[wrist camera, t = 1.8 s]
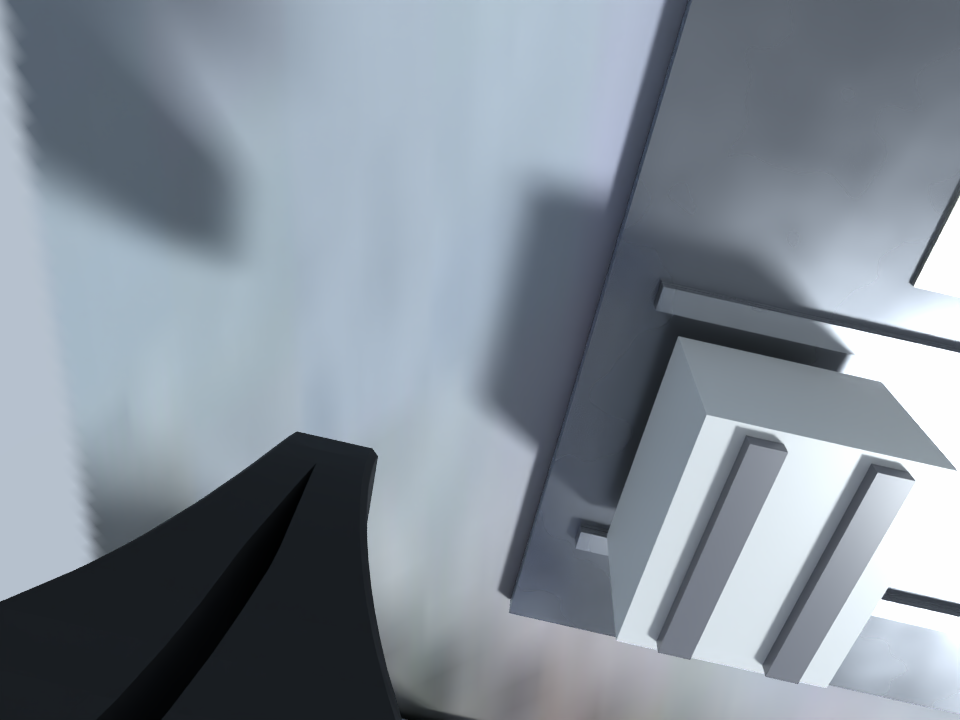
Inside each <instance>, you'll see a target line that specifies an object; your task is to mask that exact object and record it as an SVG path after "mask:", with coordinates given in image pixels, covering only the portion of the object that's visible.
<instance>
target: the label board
mask: <svg viewBox="0 0 960 720" xmlns="http://www.w3.org/2000/svg"><path fill="white" fill-rule="evenodd" d="M678 336H680V337H684V338H689V339H693V340H698V341H702V342H706V343H711V344H715V345H720V346H724V347H729V348H733V349H738V350H742V351H746V352H751V353H755V354H760V355H764V356H769V357H773V358H778V359H782V360H786V361H791V362H795V363H800V364H804V365H809V366H813V367H818V368H822V369H826V370H831V371H835V372H840V373H844V374H849V375H853V376H858V377H862V378H867V379H871V380H875V381H880V382H882V383H883V384H884V385H885V386H886V388H887V389H888V390H889V391H890V392H891V393H892V394H893V396H894V397H895V398H896V399H897V400H898V401H899V403H900V404H901V405H902V406H903V407H904V408H905V410H906V411H907V412H908V413H909V414H910V415H911V416H912V418H913V419H914V420H915V421H916V422H917V423H918V425H919V426H920V427H921V428H922V429H923V430H924V432H925V433H926V434H927V435H928V436H929V437H930V438H931V440H932V441H933V442H934V443H935V444H936V445H937V447H938V448H939V449H940V450H941V451H942V452H943V453H944V455H945V456H946V457H947V458H948V459H949V460H950V462H951V463H952V464H953V465H954V466H955V467H956V469H957V470H958V471H959V473H958V474H957V476H956V477H955V479H954V481H953V482H952V484H951V486H950V487H949V489H948V491H947V492H946V494H945V495H944V497H943V499H942V500H941V502H940V504H939V505H938V507H937V508H936V510H935V512H934V513H933V515H932V517H931V518H930V520H929V522H928V523H927V525H926V526H925V528H924V530H923V531H922V533H921V535H920V536H919V538H918V540H917V541H916V543H915V544H914V546H913V548H912V549H911V551H910V553H909V554H908V556H907V558H906V559H905V561H904V562H903V564H902V566H901V567H900V569H899V571H898V572H897V574H896V575H895V577H894V579H893V580H892V582H891V584H890V585H889V587H888V589H887V590H886V592H885V593H884V595H883V597H882V598H881V600H880V602H879V603H878V605H877V607H876V608H875V610H874V611H873V613H872V615H871V616H870V618H869V620H868V621H867V623H866V624H865V626H864V628H863V629H862V631H861V633H860V634H859V636H858V638H857V639H856V641H855V642H854V644H853V646H852V647H851V649H850V651H849V652H848V654H847V656H846V657H845V659H844V660H843V662H842V664H841V665H840V667H839V669H838V670H837V672H836V673H835V675H834V677H833V678H832V680H831V682H830V683H829V685H831V686H835V687H840V688H844V689H849V690H853V691H858V692H862V693H866V694H871V695H875V696H880V697H884V698H889V699H893V700H898V701H902V702H906V703H911V704H915V705H920V706H924V707H929V708H933V709H937V710H942V711H946V712H951V713H955V714H960V0H688V3H687V6H686V10H685V13H684V17H683V20H682V23H681V27H680V30H679V33H678V37H677V40H676V44H675V47H674V50H673V54H672V57H671V60H670V64H669V67H668V71H667V74H666V77H665V81H664V84H663V87H662V91H661V94H660V97H659V101H658V104H657V108H656V111H655V114H654V118H653V121H652V124H651V128H650V131H649V135H648V138H647V141H646V145H645V148H644V151H643V155H642V158H641V162H640V165H639V168H638V172H637V175H636V178H635V182H634V185H633V189H632V192H631V195H630V199H629V202H628V205H627V209H626V212H625V216H624V219H623V222H622V226H621V229H620V232H619V236H618V239H617V243H616V246H615V249H614V253H613V256H612V259H611V263H610V266H609V270H608V273H607V276H606V280H605V283H604V286H603V290H602V293H601V297H600V300H599V303H598V307H597V310H596V313H595V317H594V320H593V324H592V327H591V330H590V334H589V337H588V340H587V344H586V347H585V350H584V354H583V357H582V361H581V364H580V367H579V371H578V374H577V377H576V381H575V384H574V388H573V391H572V394H571V398H570V401H569V404H568V408H567V411H566V415H565V418H564V421H563V425H562V428H561V431H560V435H559V438H558V442H557V445H556V448H555V452H554V455H553V458H552V462H551V465H550V469H549V472H548V475H547V479H546V482H545V485H544V489H543V492H542V496H541V499H540V502H539V506H538V509H537V512H536V516H535V519H534V523H533V526H532V529H531V533H530V536H529V539H528V543H527V546H526V550H525V553H524V556H523V560H522V563H521V566H520V570H519V573H518V576H517V580H516V583H515V587H514V590H513V593H512V597H511V600H510V609H509V613H512V614H516V615H520V616H525V617H529V618H534V619H538V620H543V621H547V622H551V623H556V624H560V625H565V626H569V627H574V628H578V629H583V630H587V631H591V632H596V633H600V634H605V635H609V636H614V637H616V633H615V622H614V611H613V600H612V588H611V577H610V566H609V555H608V544H607V533H608V531H609V528H610V525H611V522H612V519H613V517H614V514H615V511H616V508H617V505H618V503H619V500H620V497H621V494H622V491H623V489H624V486H625V483H626V480H627V478H628V475H629V472H630V469H631V466H632V464H633V461H634V458H635V455H636V452H637V450H638V447H639V444H640V441H641V439H642V436H643V433H644V430H645V427H646V425H647V422H648V419H649V416H650V413H651V411H652V408H653V405H654V402H655V399H656V397H657V394H658V391H659V388H660V386H661V383H662V380H663V377H664V374H665V372H666V369H667V366H668V363H669V360H670V358H671V355H672V352H673V349H674V347H675V344H676V341H677V338H678Z"/></svg>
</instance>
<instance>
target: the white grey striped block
mask: <svg viewBox="0 0 960 720" xmlns="http://www.w3.org/2000/svg"><path fill="white" fill-rule="evenodd" d="M958 473H959V471H958V470H957V469H956V467H955V466H954V465H953V464H952V463H951V462H950V460H949V459H948V458H947V457H946V456H945V455H944V453H943V452H942V451H941V450H940V449H939V448H938V447H937V445H936V444H935V443H934V442H933V441H932V440H931V438H930V437H929V436H928V435H927V434H926V433H925V432H924V430H923V429H922V428H921V427H920V426H919V425H918V423H917V422H916V421H915V420H914V419H913V418H912V416H911V415H910V414H909V413H908V412H907V411H906V410H905V408H904V407H903V406H902V405H901V404H900V403H899V401H898V400H897V399H896V398H895V397H894V396H893V394H892V393H891V392H890V391H889V390H888V389H887V388H886V386H885V385H884V384H883V383H882V382H880V381H875V380H871V379H867V378H862V377H858V376H853V375H849V374H844V373H840V372H835V371H831V370H826V369H822V368H818V367H813V366H809V365H804V364H800V363H795V362H791V361H786V360H782V359H778V358H773V357H769V356H764V355H760V354H755V353H751V352H746V351H742V350H738V349H733V348H729V347H724V346H720V345H715V344H711V343H706V342H702V341H698V340H693V339H689V338H684V337H680V336H678V338H677V341H676V344H675V347H674V349H673V352H672V355H671V358H670V360H669V363H668V366H667V369H666V372H665V374H664V377H663V380H662V383H661V386H660V388H659V391H658V394H657V397H656V399H655V402H654V405H653V408H652V411H651V413H650V416H649V419H648V422H647V425H646V427H645V430H644V433H643V436H642V439H641V441H640V444H639V447H638V450H637V452H636V455H635V458H634V461H633V464H632V466H631V469H630V472H629V475H628V478H627V480H626V483H625V486H624V489H623V491H622V494H621V497H620V500H619V503H618V505H617V508H616V511H615V514H614V517H613V519H612V522H611V525H610V528H609V531H608V533H607V544H608V555H609V566H610V577H611V588H612V600H613V611H614V622H615V633H616V641H619V642H624V643H628V644H633V645H637V646H641V647H646V648H650V649H655V650H658V653H663V654H667V655H672V656H676V657H681V658H685V659H689V660H690V659H691V658H695V659H699V660H704V661H708V662H712V663H717V664H721V665H726V666H730V667H735V668H739V669H743V670H748V671H752V672H757V673H761V674H765V676H766V677H769V678H774V679H778V680H783V681H787V682H791V683H796V684H798V683H799V682H801V683H806V684H810V685H814V686H819V687H823V688H827V687H828V685H829V683H830V682H831V680H832V678H833V677H834V675H835V673H836V672H837V670H838V669H839V667H840V665H841V664H842V662H843V660H844V659H845V657H846V656H847V654H848V652H849V651H850V649H851V647H852V646H853V644H854V642H855V641H856V639H857V638H858V636H859V634H860V633H861V631H862V629H863V628H864V626H865V624H866V623H867V621H868V620H869V618H870V616H871V615H872V613H873V611H874V610H875V608H876V607H877V605H878V603H879V602H880V600H881V598H882V597H883V595H884V593H885V592H886V590H887V589H888V587H889V585H890V584H891V582H892V580H893V579H894V577H895V575H896V574H897V572H898V571H899V569H900V567H901V566H902V564H903V562H904V561H905V559H906V558H907V556H908V554H909V553H910V551H911V549H912V548H913V546H914V544H915V543H916V541H917V540H918V538H919V536H920V535H921V533H922V531H923V530H924V528H925V526H926V525H927V523H928V522H929V520H930V518H931V517H932V515H933V513H934V512H935V510H936V508H937V507H938V505H939V504H940V502H941V500H942V499H943V497H944V495H945V494H946V492H947V491H948V489H949V487H950V486H951V484H952V482H953V481H954V479H955V477H956V476H957V474H958Z"/></svg>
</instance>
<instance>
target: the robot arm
mask: <svg viewBox="0 0 960 720" xmlns="http://www.w3.org/2000/svg"><path fill="white" fill-rule="evenodd" d="M377 459H378V456H377V454H376V453H375V452H374V450H373V449H372V448H368V447H363V446H359V445H354V444H350V443H345V442H341V441H337V440H332V439H328V438H323V437H319V436H314V435H310V434H305V433H301V432H295V433H294V434H292V435H290V436H289V437H287V438H286V439H285V440H283V441H282V442H281V443H279V444H278V445H277V446H275V447H274V448H273V449H271V450H270V451H269V452H267V453H266V454H265V455H263V456H262V457H261V458H259V459H258V460H257V461H255V462H254V463H253V464H251V465H250V466H248V467H247V468H246V469H244V470H243V471H242V472H240V473H239V474H237V475H236V476H235V477H233V478H232V479H230V480H229V481H227V482H226V483H224V484H223V485H221V486H220V487H219V488H217V489H216V490H214V491H213V492H211V493H210V494H208V495H207V496H205V497H204V498H202V499H201V500H199V501H198V502H196V503H195V504H193V505H192V506H190V507H188V508H187V509H185V510H183V511H182V512H180V513H179V514H177V515H175V516H174V517H172V518H170V519H169V520H167V521H165V522H164V523H162V524H161V525H159V526H157V527H156V528H154V529H152V530H151V531H149V532H147V533H146V534H144V535H142V536H140V537H138V538H137V539H135V540H133V541H131V542H129V543H128V544H126V545H124V546H122V547H120V548H118V549H116V550H114V551H113V552H111V553H109V554H107V555H105V556H103V557H101V558H99V559H97V560H95V561H93V562H91V563H89V564H87V565H84V566H83V567H80V568H78V569H76V570H74V571H72V572H69V573H67V574H64V575H62V576H60V577H57V578H55V579H53V580H51V581H48V582H46V583H44V584H41V585H39V586H36V587H34V588H32V589H29V590H27V591H24V592H22V593H20V594H17V595H15V596H13V597H10V598H8V599H6V600H3V601H1V602H0V720H406V719H402V718H401V715H400V711H399V708H398V704H397V701H396V698H395V694H394V691H393V687H392V684H391V681H390V677H389V674H388V670H387V667H386V662H385V658H384V654H383V649H382V645H381V640H380V636H379V631H378V625H377V620H376V615H375V609H374V603H373V596H372V589H371V581H370V571H369V562H368V547H367V520H368V514H369V508H370V502H371V496H372V490H373V483H374V477H375V471H376V465H377Z"/></svg>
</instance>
